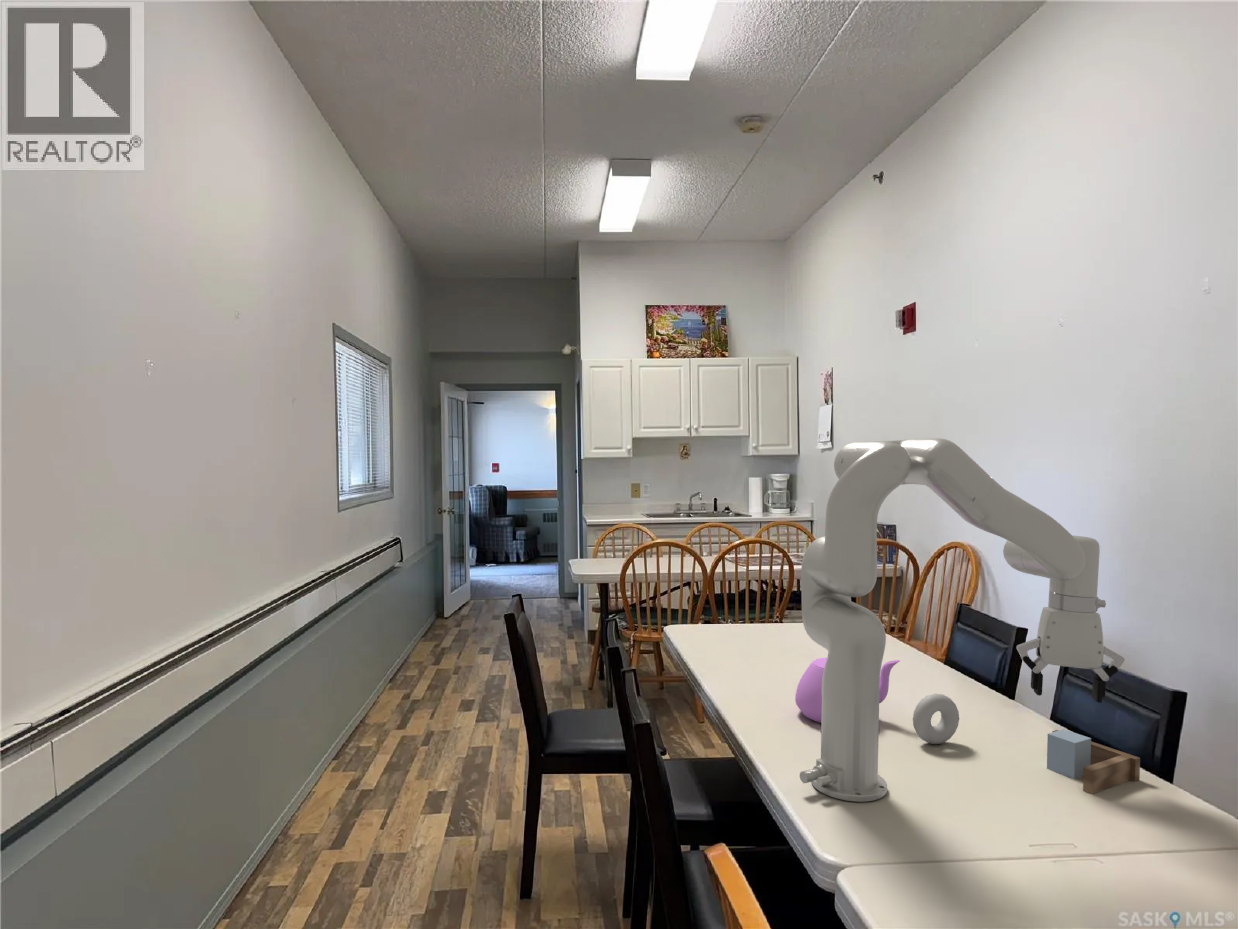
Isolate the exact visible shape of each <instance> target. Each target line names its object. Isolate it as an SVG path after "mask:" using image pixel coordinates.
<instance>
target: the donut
mask: <svg viewBox="0 0 1238 929" xmlns="http://www.w3.org/2000/svg"><path fill="white" fill-rule="evenodd" d="M958 709H959V708H958V706H957V705H956V703H955V702H954V701H953V699H951V698H950V697H949V696H947V695H945V694H943V693H932V694H928V695H925V697H923V698H922V699H920V700H919V702H918V703H917V704H916V706H915V708H914V711H913V715H912V724H913V729H914V731H915V733H916V735H917V736H918V737H919V738H920V739H921V740H922V741H924V742H926V743H927V744H932V745H939V744H942V743H945V742H948V741H949V740H950V739H951V738H952V737H953V735H955V733H956V732H957V729H958V727H959V722H960V713H959V710H958ZM937 712H939V713H940V720H939V722H938V723H937V724H935V725H934V726H933V725H932V718H933V716H934V715H935V714H936V713H937Z"/></svg>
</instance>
